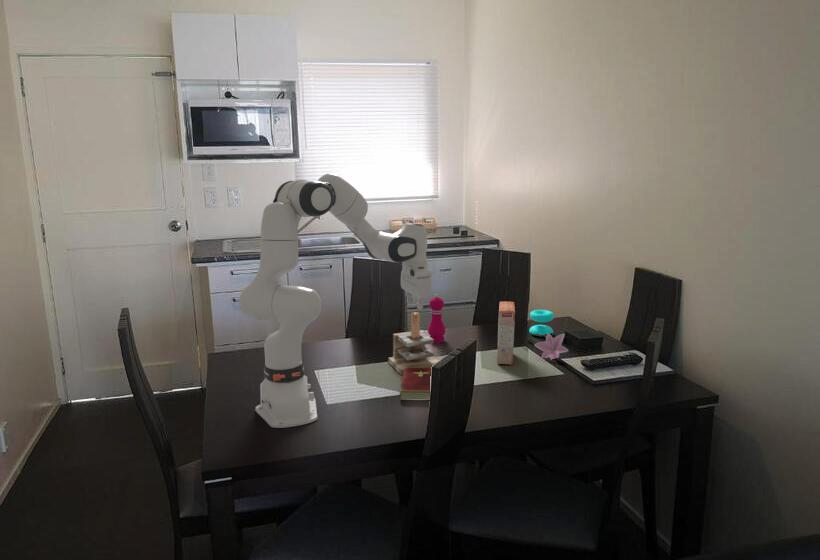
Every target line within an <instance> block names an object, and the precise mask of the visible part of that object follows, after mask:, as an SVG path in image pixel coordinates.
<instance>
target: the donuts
mask: <svg viewBox="0 0 820 560" xmlns="http://www.w3.org/2000/svg"><path fill="white" fill-rule="evenodd" d="M554 317H555V314H554V312H553V311H551V310H547V309H535V310H531V311H530V312H529V318H530V319H531V320H533V321H534V322H538V323H548V322H551V321H552V320H554ZM529 332H530V333H532V334H539V335H545V334H547V333H549V334H551V333H553V334H554V330H553V328H552V327H551V326H549V325H545V324H534V325H532V326H530V328H529ZM530 333H529V334H530Z"/></svg>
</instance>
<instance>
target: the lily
mask: <svg viewBox="0 0 820 560" xmlns="http://www.w3.org/2000/svg"><path fill="white" fill-rule="evenodd" d="M564 338H565V333H561V334H558V335H556V336H554V337H553V336H552V335H550V334H549V333H547V336H546V337H545V341H539V342H535V343H534V344H533V345H534V347H535V348H537V349H538V350H540V351H542V353H541V357H542V358H546V359H548V358H549V359H550V360H551V361H552V359H555V358H560V354H562V353H567V352H569V349H568V348H567V347H565V346H564V345H562V343H563V341H564ZM541 357H540V358H541Z"/></svg>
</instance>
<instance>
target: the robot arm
mask: <svg viewBox="0 0 820 560" xmlns="http://www.w3.org/2000/svg"><path fill="white" fill-rule="evenodd" d="M368 205H369V204H368V202H367V200H366V199H365V197H364V196H363V195H362V194H361V193H360V192H359V190H357V188H355V187H354V185H351V183H349V182H348V181H347V180H345V179H343V178H342V177H341V176H340V175H337V174H336V173H332V172H330V173H329V172H327V173H325V174H323V175H322V176H320V177H319V178H318V180H307V179H298V180H288V181H286V182H284V183H282V184H281V185H280V186H279V187H278V188H277V190H276V191H275V195H274V198H273V200H272V202H271V203H270V204H267V205H266V206H265V207H264V209H263V212H262V216H261V217H262V218H261V225H260V258H259V261H260V262H259V266H258V270H257V273H256V275H255V277H254V279H253V280H252V281H250V283H249V284H248V285H247V286H246V287H244V288H243V290H242V291H241V292H240V295H239V298H238V305H239V310H240V311H241V313H242V314H243V315H244V316H245V317H248V318H251V319H254V320H258V321H267V322H268V321H271V322H272V321H273V322H278V323H279V328H278V330H276V331H274V332H272V333H270V334H269V335H268V336H267V337H266V339H265V340H264V343H263V344H264V345H263V346H264V350H263V351H264V360H265V361H264V362H265V363H264V365H263V373H264V379H263V381H261V383H260V384H259V385H260V387H259V391H260V404H257V405H256V406H255V412H256V414H258V415H259V417H261V418H262V419H263V421H265V422H266V423H267V424H268V426H269V427H271V428H275V429H277V428H278V429H281V428H283V429H284V428H291V427H292V428H293V427H298V426H302V425H307V424H311V423H313V422H315V421H317V420H318V419H319V417H318V412H317V411H318V409H317V401H316V398H315V392H314V391H309V389H311V388H312V386H311V385H312V384H311V383H308V376H307V375H305V366H304V363H303V361H302V341H303V340H302V339H303V335H304V332H305V330H306V328H308V326H309V325H310V324H311V323H313V322H314V321H315V320H317V318H318V317H319V315H320V313H321V311H322V305H323V304H322V299H321V296H320V295H319V293H318V292H317V291H316V290H315V289H313V288H309V287H305V286H300V285H282V282H283V281H282V280H283V277H284V276H285V275H286V274H288V273H289V274H290V272H292V271H294V270H295V269H296V268H297V266H298V264H299V225H300V224H299V223H300V222H301V220H302V218H303V217H304V218H307V217H308V218H309V217H313V218H315V217H320V216H321V217H322V216H323V215H325V214H326V213H328V212H329V213H330V214H331V215H333V216H334V217H335V218H336V219H337V220H339V221H340V223H342V224H344V226H346V227H347V228H348V230H350V232H351V233H353V235H355V237H356V238H358V239H359V241H360V242H361V243H362V245H363V246H364V249H365V251H366V252H367V255H368V256H370V258H372V259H375V260H383V261H387V262H390V263H391V262H392V263H397V264H398V263H402V265H401V266H402V269H401V272H400V288H401V289H402V290H404V291H405V296H406V303H407V304H413V303H414V298H413V296H415V297H416V298H417V303H416V308H417V310H423V308H424V303H425V300H427V299H428V300H429V299H430V298H431V294H432V280H431V277H432V276H433V270H432V269H431V268H430V266H429V264H428V257H427V250H428V236H427V230H426V227H425V226H424V225H423V224H419V223H413V222H405V223H403V225H402V227H401V228H400V229H399V230H397V231H395V232H393V233H390V232H385V231H382V230H378V229H376V228H375V227H373V226H372V225H371V224H370V222H369V221H368V220H367V219H366V216H367V214H368V208H369V206H368Z"/></svg>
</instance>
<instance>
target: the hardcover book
mask: <svg viewBox="0 0 820 560" xmlns="http://www.w3.org/2000/svg"><path fill="white" fill-rule="evenodd" d="M430 376H431V368H424V367H405V368H404V373H403V375H402V380H401V385H400V391H399V400H400V399H426V398H427V399H429V397H430Z"/></svg>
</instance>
